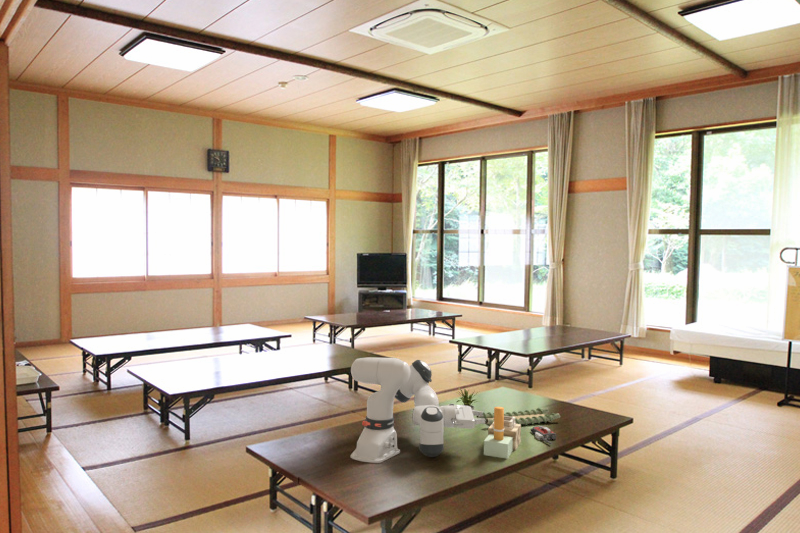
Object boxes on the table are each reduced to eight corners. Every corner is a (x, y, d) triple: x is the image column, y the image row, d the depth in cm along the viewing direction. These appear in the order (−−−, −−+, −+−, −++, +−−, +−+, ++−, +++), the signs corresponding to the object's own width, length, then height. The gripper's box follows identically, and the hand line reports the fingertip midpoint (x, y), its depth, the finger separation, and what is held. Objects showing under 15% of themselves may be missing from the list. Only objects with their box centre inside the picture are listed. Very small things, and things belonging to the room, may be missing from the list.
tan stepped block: (515, 450, 241) (515, 423, 240) (487, 446, 245) (488, 420, 245) (520, 441, 252) (521, 416, 251) (494, 438, 256) (494, 413, 256)
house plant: (444, 417, 287) (445, 385, 287) (462, 412, 296) (463, 382, 296) (466, 424, 277) (466, 391, 276) (484, 419, 286) (484, 387, 285)
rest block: (507, 458, 231) (507, 444, 231) (483, 454, 235) (484, 440, 235) (512, 450, 240) (512, 437, 240) (489, 447, 244) (489, 433, 244)
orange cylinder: (501, 441, 234) (501, 410, 234) (491, 439, 237) (492, 408, 236) (505, 438, 238) (506, 407, 238) (496, 436, 240) (496, 406, 240)
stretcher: (488, 430, 269) (488, 419, 269) (475, 421, 283) (475, 411, 282) (561, 423, 281) (561, 413, 281) (545, 415, 295) (545, 406, 295)
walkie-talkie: (526, 432, 266) (548, 446, 247) (526, 423, 266) (548, 436, 247) (542, 431, 268) (566, 445, 249) (543, 422, 268) (566, 435, 249)
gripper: (452, 416, 227) (486, 417, 226) (450, 402, 247) (481, 403, 246) (451, 432, 227) (486, 433, 226) (449, 416, 247) (481, 417, 247)
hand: (483, 417), depth 237 cm, fingers open, 8 cm apart
